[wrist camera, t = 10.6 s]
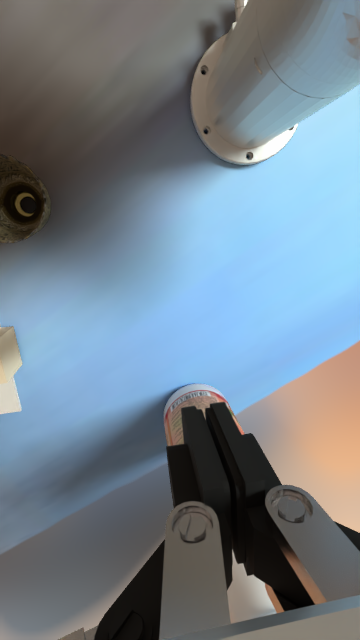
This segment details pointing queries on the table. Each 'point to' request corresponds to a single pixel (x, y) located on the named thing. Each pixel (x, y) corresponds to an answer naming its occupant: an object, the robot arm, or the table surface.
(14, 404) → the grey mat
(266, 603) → the fruit juice
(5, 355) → the maple block
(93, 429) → the table surface
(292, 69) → the robot arm
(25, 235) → the cup
